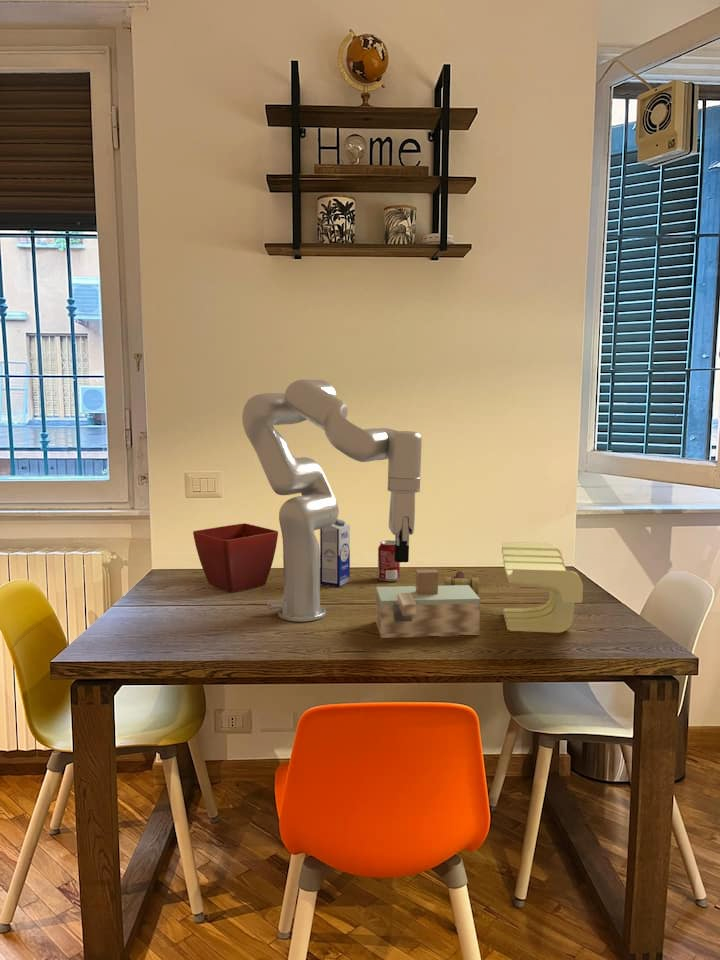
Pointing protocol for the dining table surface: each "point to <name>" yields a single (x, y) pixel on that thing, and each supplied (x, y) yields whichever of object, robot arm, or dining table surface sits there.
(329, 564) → the milk carton
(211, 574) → the plant pot
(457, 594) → the lid
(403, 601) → the bar
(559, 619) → the slatted curved stool
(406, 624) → the toolbox
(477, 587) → the gavel
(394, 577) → the soda can
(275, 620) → the dining table surface
